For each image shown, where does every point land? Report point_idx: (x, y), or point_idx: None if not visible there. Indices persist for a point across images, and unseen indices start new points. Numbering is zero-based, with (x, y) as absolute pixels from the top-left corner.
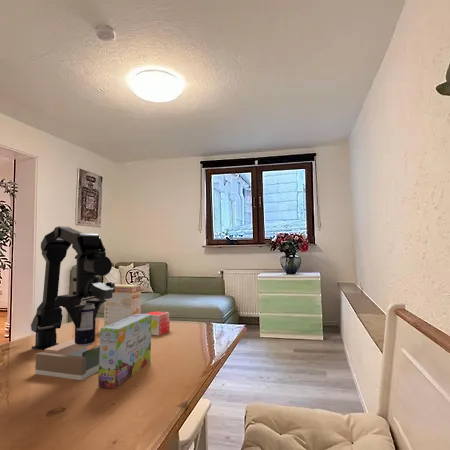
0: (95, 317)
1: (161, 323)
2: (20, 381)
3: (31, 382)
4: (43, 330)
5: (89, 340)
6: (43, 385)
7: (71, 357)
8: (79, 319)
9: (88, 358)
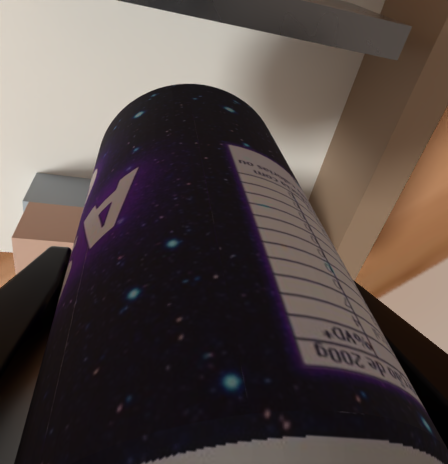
0: (3, 293)
1: None
2: (377, 259)
3: (396, 216)
4: None
5: (245, 109)
6: (444, 147)
7: (442, 104)
8: (420, 341)
9: (347, 6)
